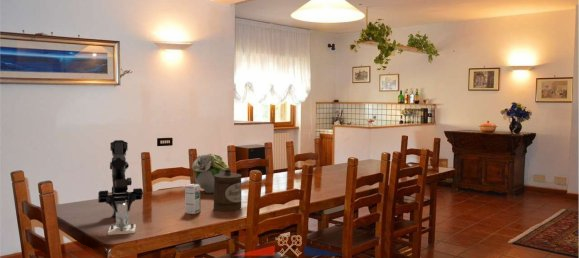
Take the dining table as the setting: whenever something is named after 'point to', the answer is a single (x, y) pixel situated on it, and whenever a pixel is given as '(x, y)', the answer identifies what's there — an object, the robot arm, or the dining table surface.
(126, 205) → the steel canister
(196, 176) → the flower arrangement
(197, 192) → the syrup box
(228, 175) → the wooden container
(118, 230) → the pin tray
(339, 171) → the dining table surface
